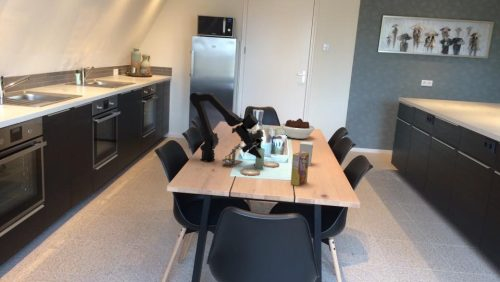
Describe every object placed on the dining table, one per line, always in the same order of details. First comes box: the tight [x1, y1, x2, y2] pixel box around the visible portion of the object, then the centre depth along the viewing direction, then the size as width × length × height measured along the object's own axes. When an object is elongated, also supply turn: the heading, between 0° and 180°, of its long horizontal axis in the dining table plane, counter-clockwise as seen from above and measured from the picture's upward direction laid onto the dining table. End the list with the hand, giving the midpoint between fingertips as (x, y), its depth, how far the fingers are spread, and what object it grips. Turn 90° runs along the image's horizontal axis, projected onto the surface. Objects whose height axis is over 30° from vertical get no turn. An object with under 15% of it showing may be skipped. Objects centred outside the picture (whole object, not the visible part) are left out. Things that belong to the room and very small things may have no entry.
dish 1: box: [240, 168, 261, 177], centre depth 216 cm, size 10×10×1 cm
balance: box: [221, 143, 244, 167], centre depth 232 cm, size 6×19×10 cm, turn 154°
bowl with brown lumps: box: [281, 118, 315, 140], centre depth 319 cm, size 25×25×15 cm
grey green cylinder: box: [254, 147, 266, 170], centre depth 225 cm, size 4×4×11 cm
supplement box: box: [298, 140, 314, 167], centre depth 242 cm, size 7×7×13 cm
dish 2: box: [263, 160, 280, 168], centre depth 235 cm, size 10×10×1 cm
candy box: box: [290, 152, 309, 187], centre depth 203 cm, size 9×4×15 cm, turn 140°
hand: (262, 157), depth 224 cm, fingers closed on grey green cylinder, 4 cm apart
